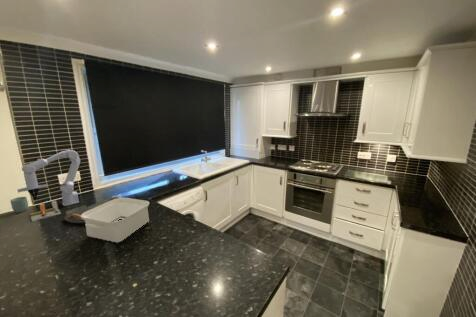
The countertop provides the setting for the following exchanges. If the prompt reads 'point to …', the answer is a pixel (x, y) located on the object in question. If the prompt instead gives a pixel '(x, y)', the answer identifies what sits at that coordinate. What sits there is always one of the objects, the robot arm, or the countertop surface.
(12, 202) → the cup
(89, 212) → the white sink basin
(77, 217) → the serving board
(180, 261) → the countertop surface
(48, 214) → the bolt plate
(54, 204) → the rail
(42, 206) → the slider leg
